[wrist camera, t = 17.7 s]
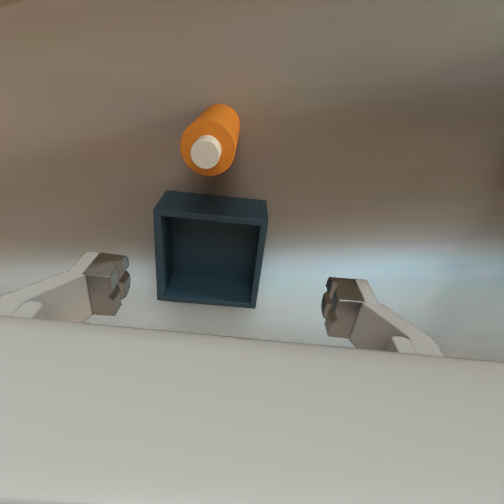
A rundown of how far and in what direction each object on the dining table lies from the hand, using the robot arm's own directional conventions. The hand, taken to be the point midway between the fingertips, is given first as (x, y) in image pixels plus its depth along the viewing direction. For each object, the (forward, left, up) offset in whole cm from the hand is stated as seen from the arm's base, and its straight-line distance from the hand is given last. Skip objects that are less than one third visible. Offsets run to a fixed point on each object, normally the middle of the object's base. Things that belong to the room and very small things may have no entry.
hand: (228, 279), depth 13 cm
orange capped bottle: (+3, -1, -31) cm, 31 cm away
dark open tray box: (+3, +15, -31) cm, 35 cm away
